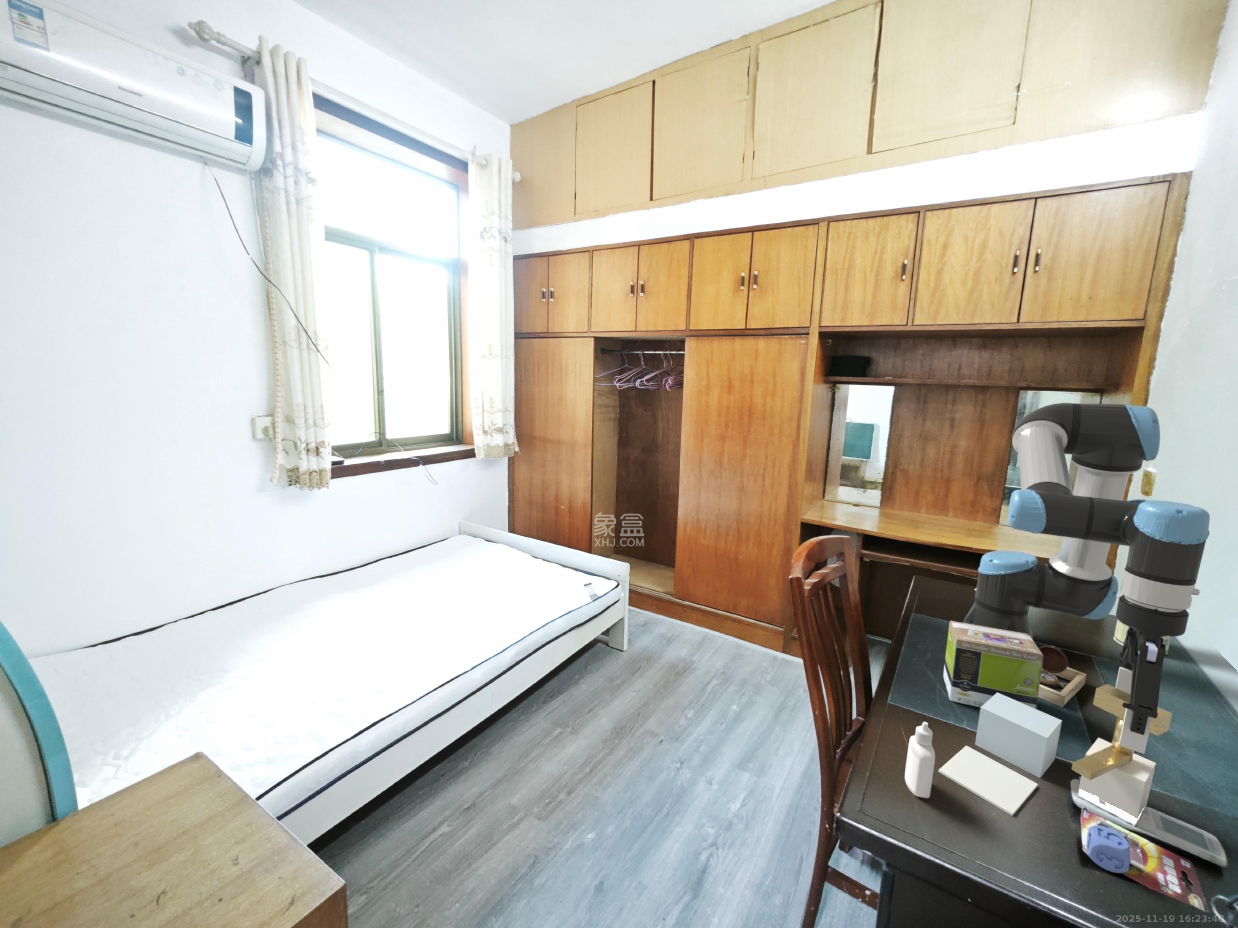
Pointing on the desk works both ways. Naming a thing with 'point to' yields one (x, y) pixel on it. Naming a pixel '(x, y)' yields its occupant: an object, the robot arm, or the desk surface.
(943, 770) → the mat
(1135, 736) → the robot arm
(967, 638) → the tea box
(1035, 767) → the cover
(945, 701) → the desk surface
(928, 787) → the eye dropper bottle
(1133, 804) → the white rectangular box
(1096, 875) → the desk surface
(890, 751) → the desk surface
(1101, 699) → the gold angular piece
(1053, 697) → the beige square frame
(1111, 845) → the decorative dice
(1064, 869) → the desk surface
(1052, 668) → the compass
